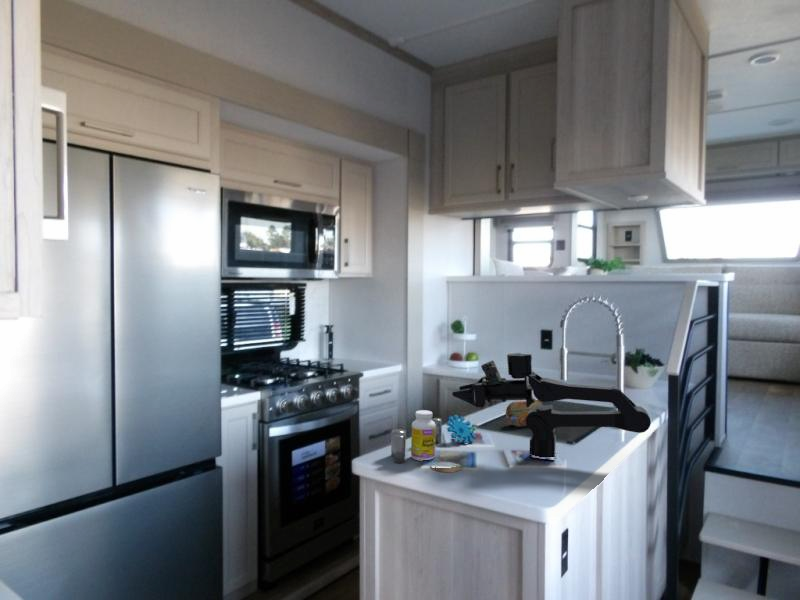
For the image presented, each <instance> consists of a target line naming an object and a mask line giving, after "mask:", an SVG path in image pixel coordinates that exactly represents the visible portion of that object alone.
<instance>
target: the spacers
mask: <svg viewBox="0 0 800 600" xmlns="http://www.w3.org/2000/svg"><path fill="white" fill-rule="evenodd" d="M431 419H432V421H434V423H435V425H436V432H435V445H436V444H441V443H442V436H443V435H442V434H443V432H442V429H443V428H442V425H443V424H442V423H443V420H442V418H440V417H434V418H433V417H432V418H431ZM390 432H391V438H390V439H391V444H390V445H391V447H390V457H392V458H393V463H395V464H404V463H405V461H406V447H407V446H406V444H407V443H406V439H407V437H406V435H407V433H406V432H407V431H406V430H405V429H401V428H397V429H391V431H390Z"/></svg>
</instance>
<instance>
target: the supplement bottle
mask: <svg viewBox="0 0 800 600" xmlns="http://www.w3.org/2000/svg"><path fill="white" fill-rule="evenodd" d="M414 414H415V420H414V421H412V423H411V441H410V443H411V445H410V446H411V447H410V448H411V449H410V457H411V459H413V460H415V461H418V462H419V461H420V462H424V461H423V460H425V459H431V458H434V457H435V458H436V443H435V432H436V425H435V423H434V421H432V419H433V412H432V411H431V410H424V409H421V410H416V411H415V413H414ZM435 458H434V459H435Z"/></svg>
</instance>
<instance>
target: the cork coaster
mask: <svg viewBox="0 0 800 600" xmlns="http://www.w3.org/2000/svg"><path fill="white" fill-rule="evenodd" d="M431 470H433V471H435V472H439V473H456V472H459V471H461V470H462V465H461V464H460V466H456V467H451V468H436V467H435V468H431Z"/></svg>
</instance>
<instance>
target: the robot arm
mask: <svg viewBox="0 0 800 600" xmlns="http://www.w3.org/2000/svg"><path fill="white" fill-rule="evenodd" d="M532 357H533V356H532V354H531V353H521V352H515V353H513V352H512V353H508V354H506V358H507V372H508V375H509V376H510V377H511V378H512V379H507V378H505V377H502V376H501V375H500V372H499V370H498V367H497V364H496V362H495V361H494V360H490V361H488V362H485V363H483V364H482V365H481V366H480V367H481V370H482V371H483V372H484V376H481V377H480V378H479V380H478V381H477V382H472V383H469V384H465V385H464V384H463V385H461V386H459V387H458V388H459V390H455V391H451V392H452V394H451V395H452V397H454V398H457V399H459V400H461V401H463V402H466V403H468V404H470V405H472V406H474V407H475V408H483V407H484V406H485V405H486V404H487V403H492V401H494V402H495V401H501V402H502V403H506V402H508V401H524V400H526V406H527V407H529V406H530V405H531V404H532V403H534V402H535V400H539V401H541V402H542V403H543V402H546V403H547V402H557V401H561V400H563V401H564V400H577V401H589V402H591V401H592V402H603V403H611V404H612V405H613V406H614V407H615V408H616V410H612V411H607V410H603V411H601V410H599V411H598V410H595V411H592V410H591V411H583V410H581V411H576V410H575V411H573V410H572V411H570V410H569V411H564V410H563V411H561V410H556V409H553V408H554V407H553V404H547V405H544V404H543V405H539V404H538V406H537V407H533V408H532V409H531V410H530V411H529V413H528V415H527V417H526V425H527V426H526V427H527V428H528V429H529V430H530V432H532V435H531V438H530V439H529V455H531V454H532V455H535V456H539V457H555V454H556V455H557V452H556V450H557V449H556V447H557V446H556V443H557V440H556V439H557V435H556V434H555V430H556V429H558V428H615V429H618V430H623V431H627V432H631V433H636V434H637V433H638V434H641V433H645V432H647V430H649V428H650V426H651V423H652V422H651V417H650V416H649V415H650V414H649V413H648V411H647V410H646V409H645V408H644V407H642V406H640V405H639V406H638V405H637V404H635V402H634V401H632V400H631V399H630V398H629V397H628V396H627V395H626V394H625V393H623V391H622V389H621V388H620V387H618V386H601V385H600V386H599V385H588V384H587V385H583V384H572V383H565V382H564V381H563V382H562V381H560V380H556V379H552V378H549V377H542V376H540V375H539V374H537V373H536V372H534V371H533V366H532V361H533V358H532ZM532 389H533V390H532ZM533 396H534V397H535V398H536V399H535V398H534V397H533ZM555 458H556V457H555Z"/></svg>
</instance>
